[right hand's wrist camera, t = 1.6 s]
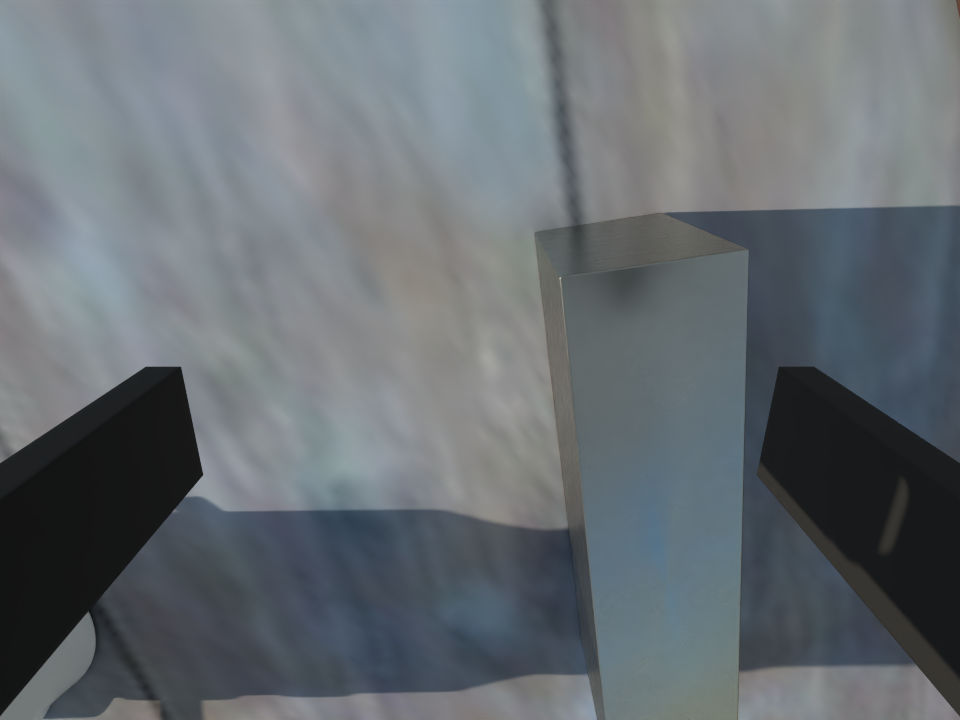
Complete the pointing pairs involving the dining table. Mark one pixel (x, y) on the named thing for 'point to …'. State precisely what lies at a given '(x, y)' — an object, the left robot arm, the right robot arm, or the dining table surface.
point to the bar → (651, 456)
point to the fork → (959, 4)
